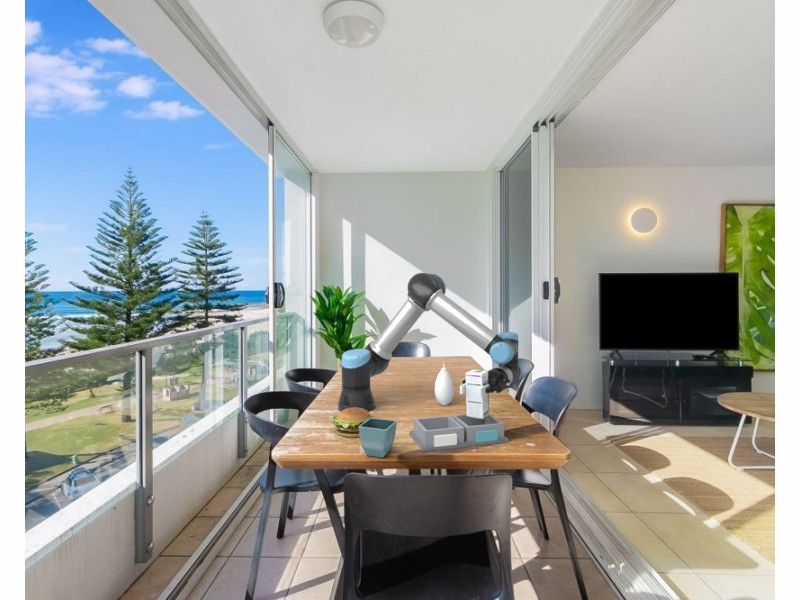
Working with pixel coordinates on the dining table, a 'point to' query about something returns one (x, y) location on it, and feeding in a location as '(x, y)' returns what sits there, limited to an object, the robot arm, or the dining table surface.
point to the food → (350, 421)
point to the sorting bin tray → (457, 432)
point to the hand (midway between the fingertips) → (470, 391)
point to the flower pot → (377, 436)
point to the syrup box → (476, 394)
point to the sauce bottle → (444, 387)
